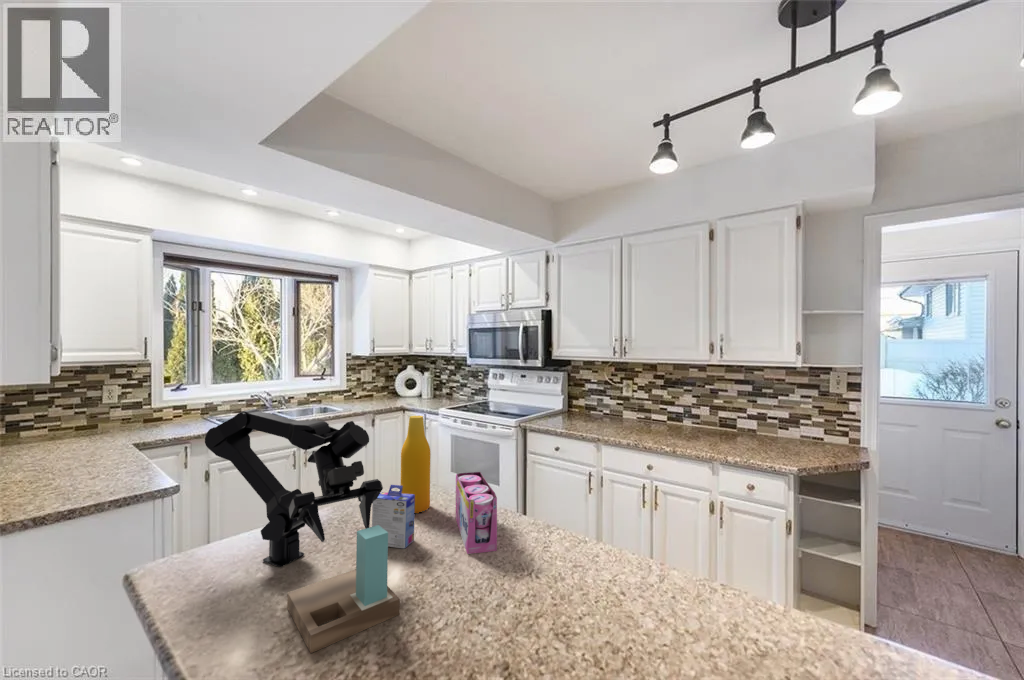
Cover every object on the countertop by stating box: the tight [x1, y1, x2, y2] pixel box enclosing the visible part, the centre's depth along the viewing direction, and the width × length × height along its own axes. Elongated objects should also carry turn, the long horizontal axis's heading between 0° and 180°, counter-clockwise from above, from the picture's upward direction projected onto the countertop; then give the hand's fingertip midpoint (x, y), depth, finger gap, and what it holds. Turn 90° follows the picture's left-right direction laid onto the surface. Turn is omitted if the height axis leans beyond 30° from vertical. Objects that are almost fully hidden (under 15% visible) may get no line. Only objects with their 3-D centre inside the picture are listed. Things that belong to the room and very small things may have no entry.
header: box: [286, 568, 401, 654], centre depth 82 cm, size 16×16×3 cm
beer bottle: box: [400, 415, 431, 514], centre depth 133 cm, size 9×9×29 cm
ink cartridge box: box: [371, 484, 415, 549], centre depth 111 cm, size 10×6×14 cm, turn 78°
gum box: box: [455, 471, 498, 555], centre depth 116 cm, size 24×8×14 cm, turn 15°
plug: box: [355, 525, 389, 606], centre depth 82 cm, size 4×4×12 cm
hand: (346, 534), depth 89 cm, fingers open, 9 cm apart
